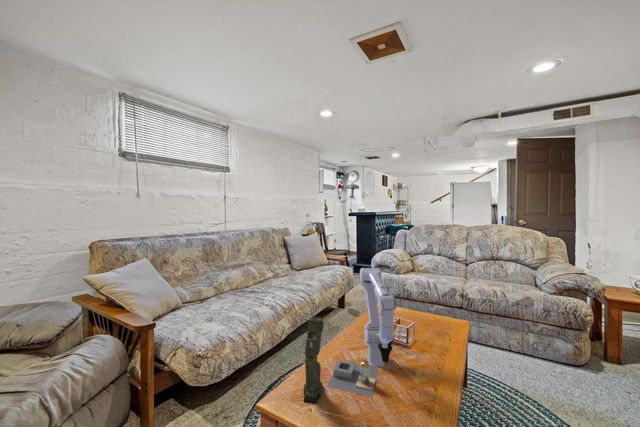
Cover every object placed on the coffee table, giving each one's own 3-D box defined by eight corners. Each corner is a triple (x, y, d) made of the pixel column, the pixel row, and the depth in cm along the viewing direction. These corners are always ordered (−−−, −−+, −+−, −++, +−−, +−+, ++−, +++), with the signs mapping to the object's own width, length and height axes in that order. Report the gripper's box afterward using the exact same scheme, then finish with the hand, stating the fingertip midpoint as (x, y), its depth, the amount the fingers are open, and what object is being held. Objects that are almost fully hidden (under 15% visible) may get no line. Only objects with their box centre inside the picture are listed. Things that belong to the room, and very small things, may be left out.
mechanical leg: (317, 410, 97) (321, 320, 103) (297, 407, 98) (303, 318, 104) (324, 394, 110) (327, 315, 116) (306, 391, 111) (311, 314, 118)
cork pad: (359, 376, 117) (359, 375, 117) (375, 380, 114) (375, 378, 114) (355, 386, 110) (355, 385, 110) (373, 390, 108) (373, 389, 108)
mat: (339, 361, 129) (339, 360, 129) (378, 368, 123) (378, 367, 123) (327, 387, 110) (327, 386, 110) (371, 397, 104) (371, 396, 104)
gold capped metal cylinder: (362, 378, 115) (361, 359, 115) (370, 380, 113) (369, 360, 113) (360, 383, 111) (359, 363, 111) (368, 385, 110) (367, 365, 110)
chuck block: (338, 366, 124) (338, 359, 124) (355, 369, 122) (355, 363, 122) (333, 376, 117) (333, 369, 117) (351, 380, 114) (351, 373, 114)
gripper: (378, 317, 122) (378, 347, 122) (374, 330, 108) (374, 364, 108) (395, 319, 120) (395, 350, 120) (392, 333, 106) (392, 368, 106)
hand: (386, 357), depth 114 cm, fingers open, 7 cm apart
